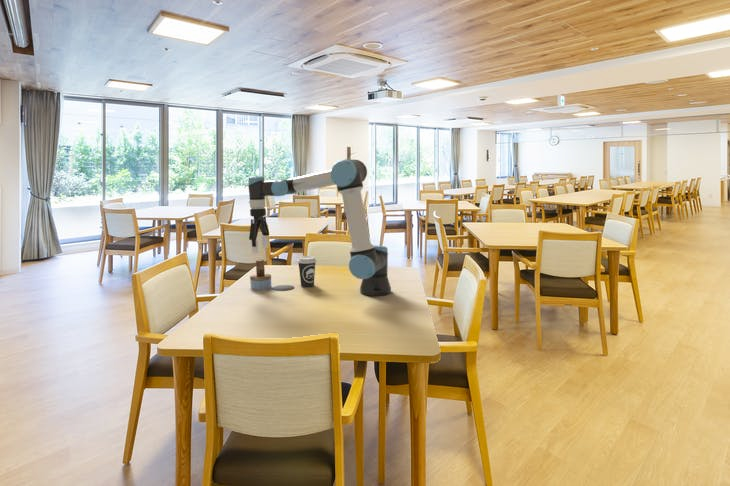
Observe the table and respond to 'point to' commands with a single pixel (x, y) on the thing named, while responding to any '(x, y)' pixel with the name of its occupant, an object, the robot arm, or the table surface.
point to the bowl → (260, 284)
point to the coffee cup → (307, 270)
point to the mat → (283, 288)
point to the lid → (260, 272)
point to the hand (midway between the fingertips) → (260, 250)
